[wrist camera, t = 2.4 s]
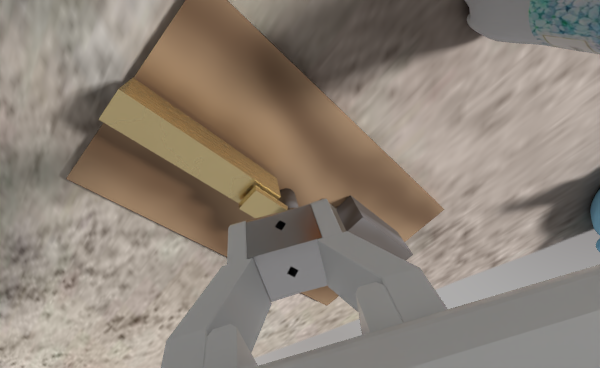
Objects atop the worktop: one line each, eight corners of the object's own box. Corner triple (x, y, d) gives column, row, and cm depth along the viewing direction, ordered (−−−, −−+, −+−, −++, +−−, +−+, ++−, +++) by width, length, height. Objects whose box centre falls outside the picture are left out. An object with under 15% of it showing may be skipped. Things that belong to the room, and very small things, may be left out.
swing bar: (313, 196, 28) (326, 229, 24) (287, 221, 29) (295, 257, 25) (137, 70, 20) (113, 89, 16) (110, 111, 21) (81, 138, 17)
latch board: (203, -24, 20) (194, -28, 15) (438, 204, 34) (468, 233, 29) (71, 172, 25) (38, 208, 20) (324, 298, 39) (335, 335, 34)
